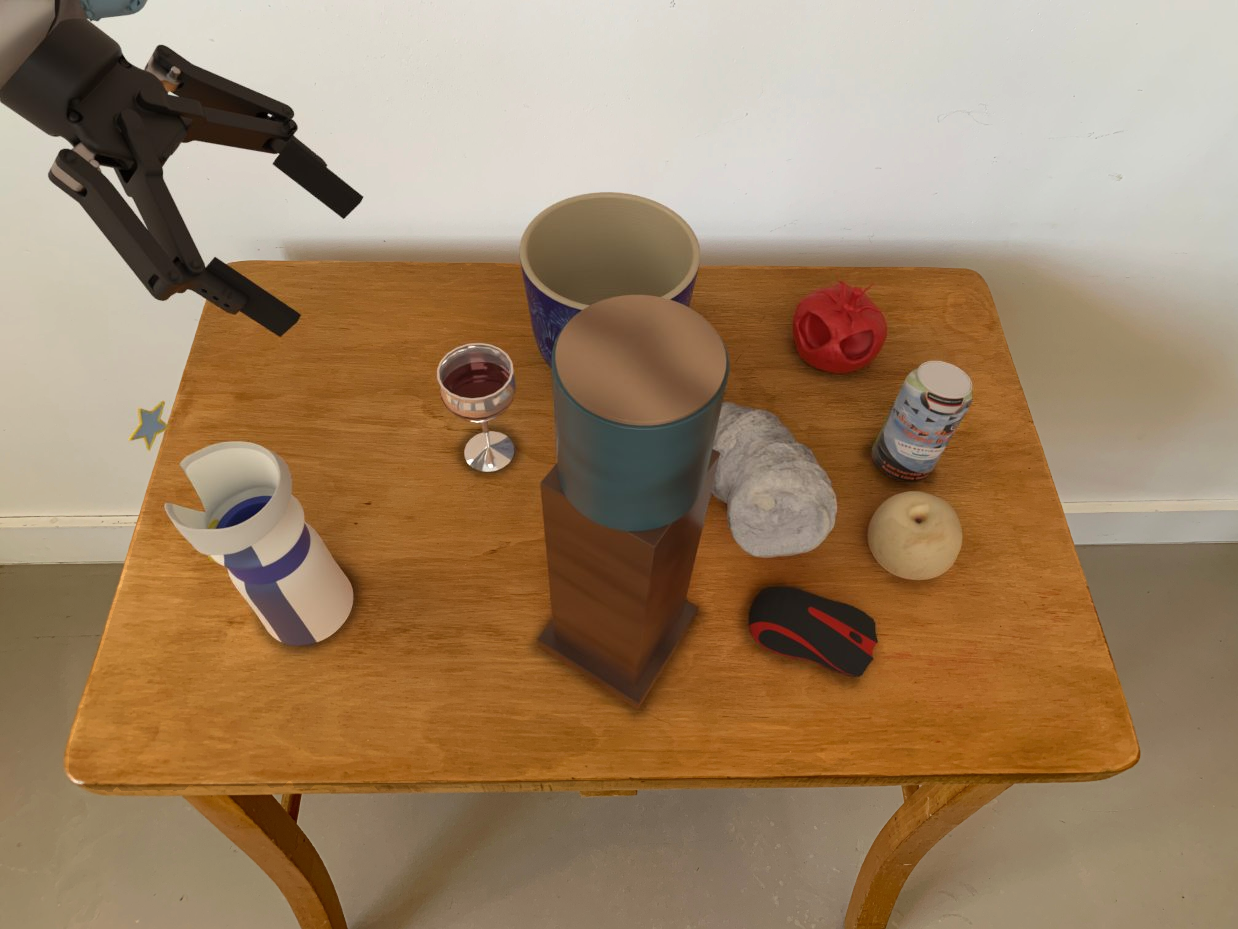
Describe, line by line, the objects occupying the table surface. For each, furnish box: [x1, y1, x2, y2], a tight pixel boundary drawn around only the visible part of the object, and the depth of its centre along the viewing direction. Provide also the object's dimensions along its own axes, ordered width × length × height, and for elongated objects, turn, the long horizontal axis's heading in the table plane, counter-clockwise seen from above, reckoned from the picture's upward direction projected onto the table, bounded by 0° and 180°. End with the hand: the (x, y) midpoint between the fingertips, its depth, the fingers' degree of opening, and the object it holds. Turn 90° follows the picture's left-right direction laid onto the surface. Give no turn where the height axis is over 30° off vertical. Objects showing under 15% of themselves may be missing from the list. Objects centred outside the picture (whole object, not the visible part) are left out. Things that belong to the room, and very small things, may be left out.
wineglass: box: [436, 342, 517, 473], centre depth 74 cm, size 7×7×12 cm
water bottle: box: [128, 400, 354, 647], centre depth 58 cm, size 8×9×25 cm
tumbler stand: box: [536, 295, 730, 711], centre depth 54 cm, size 10×10×35 cm
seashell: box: [711, 401, 838, 559], centre depth 73 cm, size 16×15×10 cm
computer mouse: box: [748, 585, 879, 678], centre depth 67 cm, size 6×11×4 cm, turn 67°
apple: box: [866, 490, 964, 581], centre depth 71 cm, size 8×8×8 cm
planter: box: [518, 191, 701, 370], centre depth 80 cm, size 17×17×15 cm
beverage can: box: [871, 360, 973, 483], centre depth 75 cm, size 6×7×12 cm
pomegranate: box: [791, 276, 888, 374], centre depth 84 cm, size 10×10×9 cm
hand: (324, 263), depth 61 cm, fingers open, 13 cm apart
